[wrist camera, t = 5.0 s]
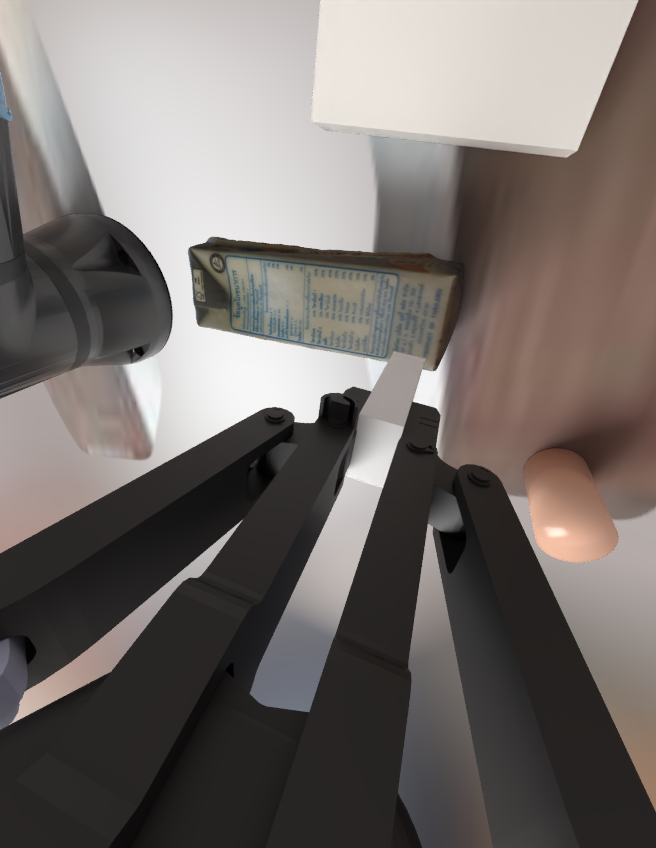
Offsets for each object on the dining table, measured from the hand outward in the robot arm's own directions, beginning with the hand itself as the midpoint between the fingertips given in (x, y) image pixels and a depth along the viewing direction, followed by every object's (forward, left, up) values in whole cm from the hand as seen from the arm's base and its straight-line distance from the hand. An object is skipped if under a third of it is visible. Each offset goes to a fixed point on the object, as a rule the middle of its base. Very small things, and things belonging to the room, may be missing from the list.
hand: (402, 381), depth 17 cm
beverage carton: (+1, 0, -16) cm, 16 cm away
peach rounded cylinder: (+14, -11, -15) cm, 23 cm away
